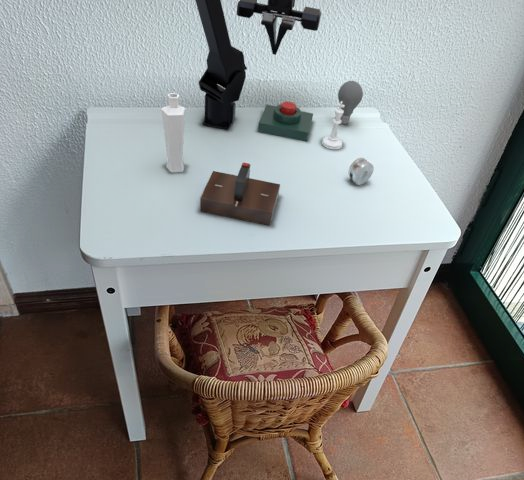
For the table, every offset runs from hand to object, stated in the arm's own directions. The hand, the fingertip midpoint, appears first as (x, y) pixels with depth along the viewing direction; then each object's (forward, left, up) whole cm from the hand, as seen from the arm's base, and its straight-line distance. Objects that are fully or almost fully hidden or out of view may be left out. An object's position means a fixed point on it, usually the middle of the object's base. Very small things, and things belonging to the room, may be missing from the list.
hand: (274, 53), depth 117 cm
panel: (+2, -45, -12) cm, 47 cm away
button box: (+6, -10, -12) cm, 17 cm away
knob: (+2, -45, -9) cm, 46 cm away
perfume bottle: (-14, -37, -12) cm, 41 cm away
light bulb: (+20, -2, -12) cm, 24 cm away
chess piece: (+18, -14, -12) cm, 26 cm away
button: (+6, -10, -8) cm, 14 cm away
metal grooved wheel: (+25, -28, -12) cm, 39 cm away
